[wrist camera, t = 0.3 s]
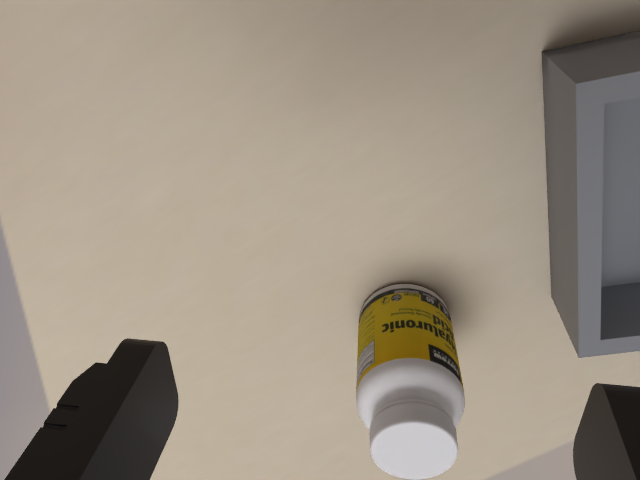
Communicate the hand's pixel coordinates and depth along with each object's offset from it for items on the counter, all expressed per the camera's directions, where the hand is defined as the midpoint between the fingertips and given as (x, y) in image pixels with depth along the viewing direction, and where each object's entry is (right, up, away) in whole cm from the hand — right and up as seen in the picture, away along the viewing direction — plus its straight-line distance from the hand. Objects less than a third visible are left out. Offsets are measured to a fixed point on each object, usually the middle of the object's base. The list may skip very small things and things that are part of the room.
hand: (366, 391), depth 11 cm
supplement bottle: (+4, -2, +23) cm, 24 cm away
